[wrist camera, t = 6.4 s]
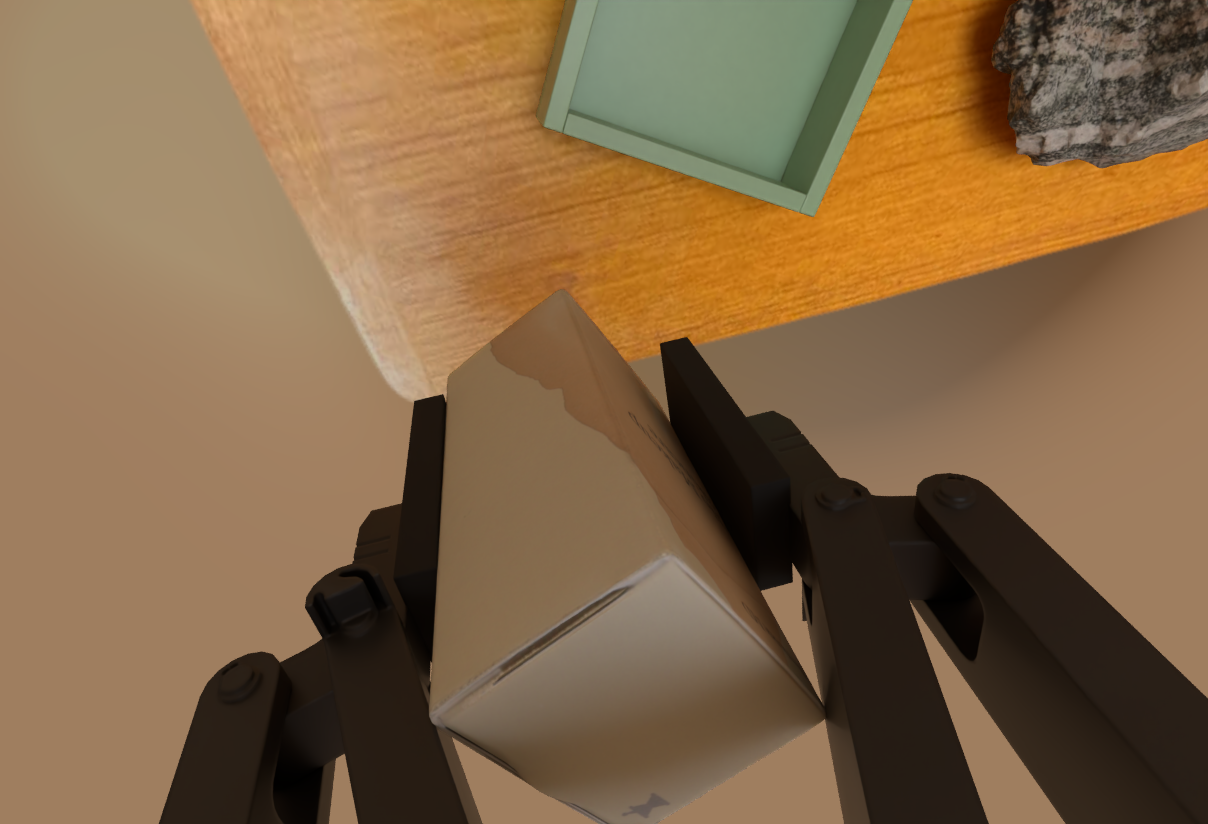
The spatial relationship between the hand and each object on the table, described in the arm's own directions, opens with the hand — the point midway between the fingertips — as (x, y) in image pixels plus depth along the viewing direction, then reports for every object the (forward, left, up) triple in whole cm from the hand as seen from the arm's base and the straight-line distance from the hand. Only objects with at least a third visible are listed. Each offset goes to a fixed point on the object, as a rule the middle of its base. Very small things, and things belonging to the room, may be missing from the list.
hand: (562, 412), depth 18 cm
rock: (+25, +18, -16) cm, 35 cm away
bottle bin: (+5, +12, -16) cm, 21 cm away
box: (0, 0, -2) cm, 2 cm away
